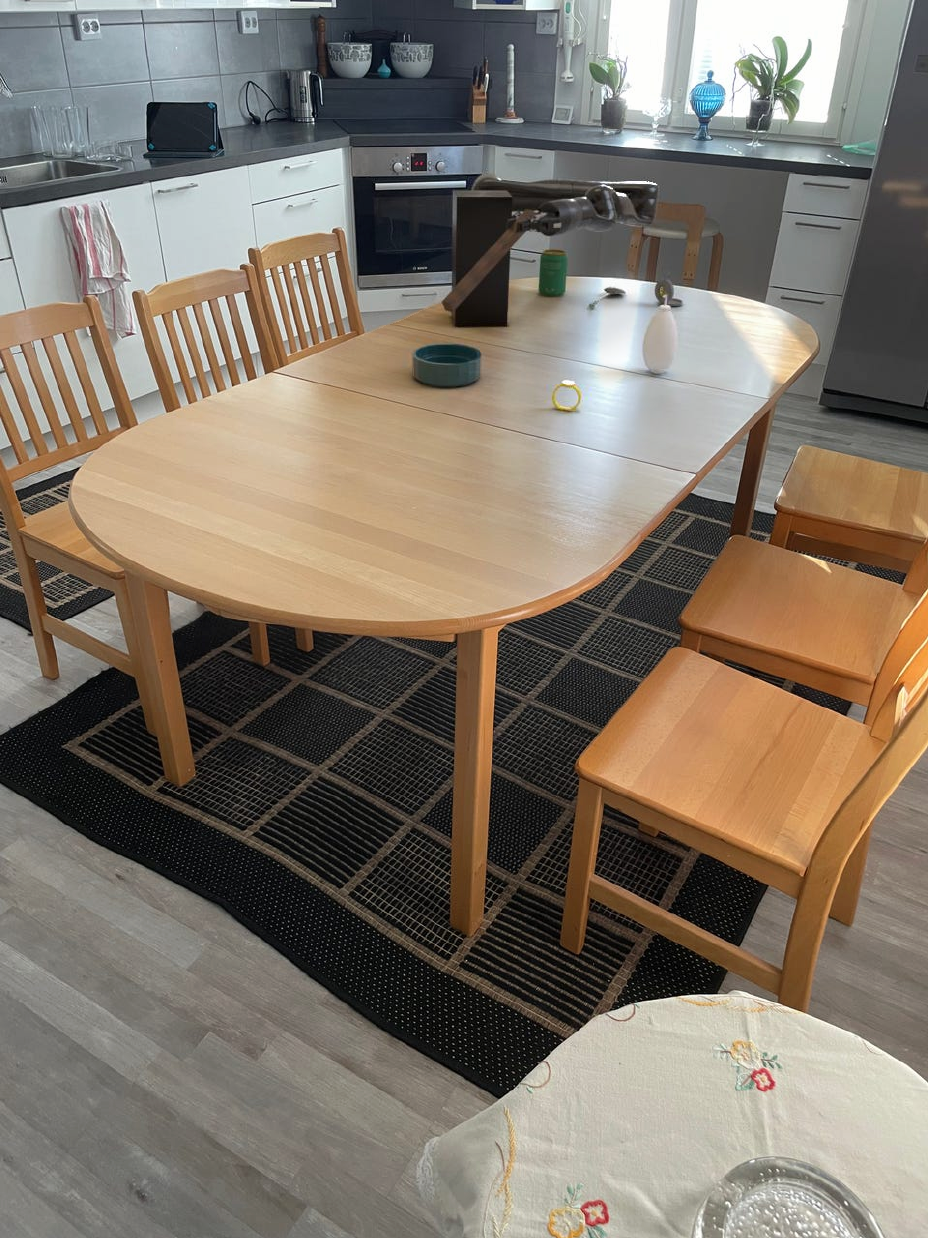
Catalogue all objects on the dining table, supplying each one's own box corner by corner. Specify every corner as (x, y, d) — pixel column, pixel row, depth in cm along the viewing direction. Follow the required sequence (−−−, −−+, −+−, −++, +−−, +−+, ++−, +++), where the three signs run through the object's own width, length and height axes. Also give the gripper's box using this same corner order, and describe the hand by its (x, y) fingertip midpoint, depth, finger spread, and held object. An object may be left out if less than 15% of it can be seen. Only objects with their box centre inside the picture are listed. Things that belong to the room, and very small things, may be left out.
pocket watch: (683, 302, 276) (688, 267, 270) (679, 309, 269) (684, 273, 264) (655, 299, 278) (660, 264, 272) (650, 306, 271) (655, 270, 266)
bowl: (398, 377, 215) (397, 353, 212) (445, 362, 225) (445, 339, 222) (447, 393, 206) (447, 369, 203) (494, 377, 216) (495, 353, 213)
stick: (528, 218, 217) (525, 208, 215) (536, 219, 216) (533, 210, 214) (445, 310, 208) (441, 301, 207) (452, 312, 207) (449, 303, 205)
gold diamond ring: (550, 410, 199) (552, 382, 196) (552, 405, 201) (554, 378, 198) (578, 413, 198) (580, 385, 194) (580, 408, 200) (582, 381, 197)
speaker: (501, 316, 260) (506, 190, 242) (507, 326, 251) (512, 196, 234) (451, 316, 258) (452, 190, 241) (455, 327, 250) (456, 196, 233)
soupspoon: (629, 296, 283) (608, 295, 286) (629, 285, 281) (609, 283, 284) (601, 310, 266) (580, 308, 269) (602, 297, 264) (580, 295, 267)
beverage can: (568, 292, 283) (571, 250, 277) (559, 298, 277) (562, 255, 271) (543, 289, 286) (546, 247, 279) (534, 295, 280) (536, 252, 273)
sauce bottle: (666, 366, 225) (677, 289, 215) (678, 377, 218) (689, 297, 209) (635, 367, 224) (644, 290, 214) (646, 378, 217) (656, 298, 208)
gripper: (581, 238, 221) (535, 248, 211) (535, 229, 229) (488, 239, 218) (584, 203, 217) (537, 212, 206) (537, 196, 225) (489, 204, 214)
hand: (512, 226), depth 212 cm, fingers closed on stick, 2 cm apart
